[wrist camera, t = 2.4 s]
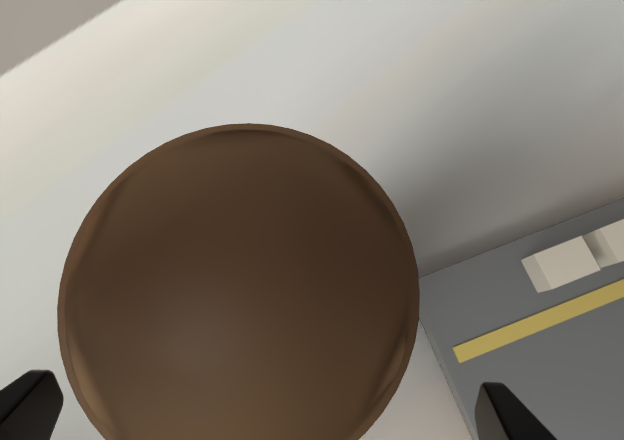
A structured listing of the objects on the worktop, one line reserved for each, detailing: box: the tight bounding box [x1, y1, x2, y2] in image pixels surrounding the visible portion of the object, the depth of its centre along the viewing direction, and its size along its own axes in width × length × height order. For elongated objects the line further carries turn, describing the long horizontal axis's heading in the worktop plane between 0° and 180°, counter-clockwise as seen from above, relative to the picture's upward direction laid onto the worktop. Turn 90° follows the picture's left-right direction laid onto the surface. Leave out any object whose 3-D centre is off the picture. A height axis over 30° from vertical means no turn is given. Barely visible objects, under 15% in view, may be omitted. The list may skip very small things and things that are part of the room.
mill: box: [57, 123, 420, 440], centre depth 13 cm, size 6×6×12 cm
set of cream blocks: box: [521, 219, 624, 293], centre depth 17 cm, size 1×8×1 cm, turn 110°
